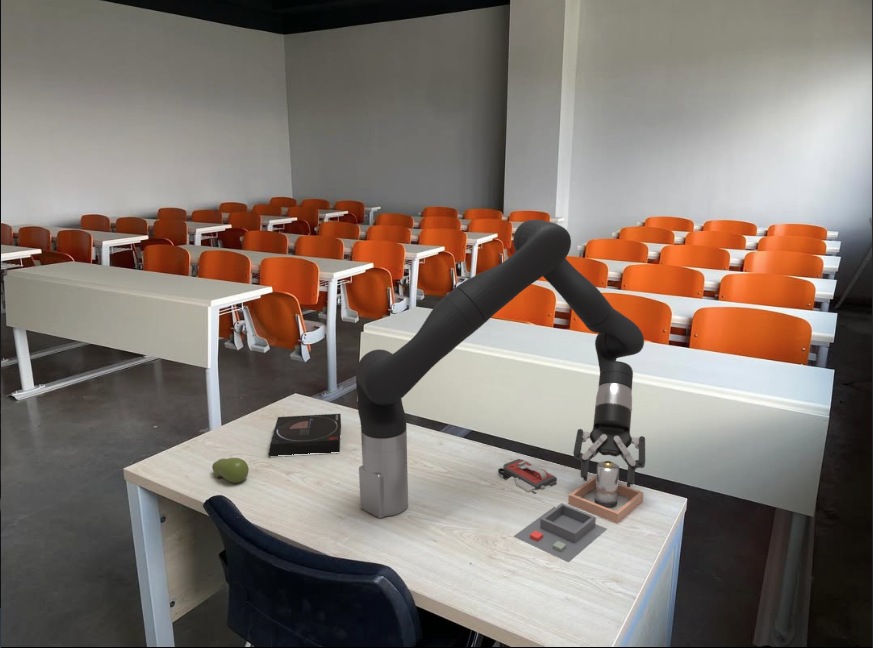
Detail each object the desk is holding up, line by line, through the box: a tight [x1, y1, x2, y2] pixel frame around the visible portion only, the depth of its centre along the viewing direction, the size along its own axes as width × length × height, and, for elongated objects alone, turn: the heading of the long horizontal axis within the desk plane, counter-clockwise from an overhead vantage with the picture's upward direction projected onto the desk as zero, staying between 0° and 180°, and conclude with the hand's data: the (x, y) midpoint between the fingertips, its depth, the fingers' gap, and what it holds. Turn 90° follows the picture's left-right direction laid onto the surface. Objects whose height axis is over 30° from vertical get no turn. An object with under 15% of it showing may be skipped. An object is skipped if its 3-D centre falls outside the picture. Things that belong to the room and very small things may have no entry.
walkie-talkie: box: [497, 458, 558, 495], centre depth 145 cm, size 9×4×20 cm
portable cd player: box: [268, 413, 342, 457], centre depth 169 cm, size 16×17×4 cm
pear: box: [211, 457, 249, 484], centre depth 150 cm, size 6×5×10 cm
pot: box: [567, 474, 644, 524], centre depth 136 cm, size 11×11×4 cm
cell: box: [594, 460, 620, 509], centre depth 135 cm, size 4×4×10 cm
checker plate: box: [512, 503, 608, 563], centre depth 126 cm, size 14×12×4 cm
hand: (606, 482), depth 134 cm, fingers open, 8 cm apart
